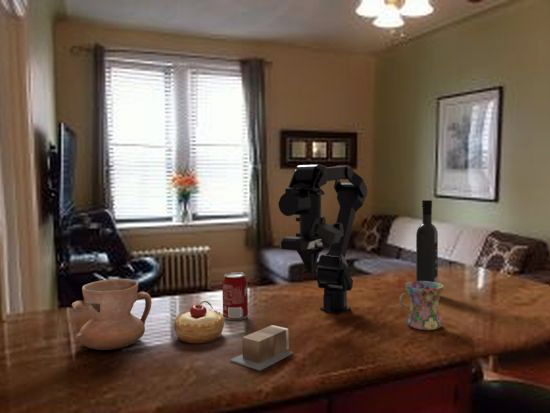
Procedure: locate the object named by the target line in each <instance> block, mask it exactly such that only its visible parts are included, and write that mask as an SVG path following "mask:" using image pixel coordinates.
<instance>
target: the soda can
mask: <svg viewBox="0 0 550 413" xmlns="http://www.w3.org/2000/svg"><path fill="white" fill-rule="evenodd" d="M223 275H224V278H223V280H222V281H221V282H222V284H221V285H222V290H221V291H222V315H223V316H224V319H226V320H228V321H231V322H236V321H243V320H244V319H245V318H246V319H247V317H248V316H249V306H248V305H249V304H248V303H249V302H248V301H249V300H248V298H249V297H248V294H249V293H248V280H247V278H246V274H245V273H243V272H227V273H225V274H223Z"/></svg>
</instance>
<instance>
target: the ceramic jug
mask: <svg viewBox="0 0 550 413" xmlns="http://www.w3.org/2000/svg"><path fill="white" fill-rule="evenodd" d="M138 290H139V281H137V280H136V279H131V278H115V279H114V278H110V279H103V280H98V281H97V280H96V281H93V282H92V281H91V282H90V283H87V284H84V285H82V288H81V291H82V296H83V300H76V301H74V302H72V304H71V306H72V307H73V309H74V310H76V309H78V308H83V309H85V310H87V311H89V313H90V314H91V316H92V318H90V319H89V320H88V321H87V322H86V323H85V324H84V325H83V326H82V327H81V328H80V329H79V332H78V333H77V335H76V338H77V340H78V342H79V343H81V344H82V345H83V346H84V347H87V348H89V349H92V350H97V351H109V350H111V351H112V350H117V349H122V348H125V347H127V346H131V345H132V344H134V343H136V342H138V341H139V340H140V339H141V338H142V337H143V336H144V334H145V333H146V332H145V331H146V327H145V325H146V320H147V318H148V317H149V313H150V311H151V309H152V297H151V295H150V294H149V293H148V292H145V291H139V292H138ZM141 298H143V299H144V302H145V303H144V304H145V305H144V310H143V312H142V315H141V317H140V318H139V317H137V316H135V315H134V314H132V313H131V311H132V309H133V307H134V305H135V303H136V302H137V301H138V300H139V299H141Z"/></svg>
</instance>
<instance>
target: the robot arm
mask: <svg viewBox="0 0 550 413" xmlns="http://www.w3.org/2000/svg"><path fill="white" fill-rule="evenodd" d="M341 180H348V181H342V182H341ZM364 180H365V179H364V178H362V176H360V175H359V174H358V173H356V172H355V171H354V169H353V167H352V166H351V165H349V164H348V165H336V166H328V167H327V166H326V165H323V164H320V163H319V164H318V163H317V164H299V165H297V166H296V168H295V170H294V172H293V174H292V177H291V179H290V182H289V184H288V186H287V187H285V188H284V189H285V190H284V191H285V192H284V193H283V194H282V195H281V196H280V198H279V200H278V204H277V205H278V209H279V211H280V213H281V214H282V215H284V216H286V217H294V216H295V222H298V223H299V224H298V228H299V230H298V232H297V233H295V236H285V237H282V238H281V240H280V245H279V246H280V249H281V250H288V251H289V250H290V251H296V252H297V254H298V256H299V257H300V259H301V261H302V263H303V265H304V267H305V270H306V271H307V273H308V274H313V273H314V272H315V278H316V282H317V286H318V289H323V297H322V303H323V306H320V307H319V309H320V310H321V311H325V312H328V313H332V314H340V313H341V314H342V313H344V312H346V311H349V310H352V308H351V307H350V306H348V305H347V304H348V300H347V297H348V296H347V295H348V294H347V291H348V292H349V291H352V289H353V286H354V285H353V284H354V280H353V278H352V276H351V275H350V273H349V264H348V262H347V258H346V255H347V254H346V253H347V250H348V246H349V241H350V237H351V234H352V230H353V225H354V222H355V218H356V213H357V211H359V209H361V207H363V205H364V204H365V201H366V198H367V196H368V186H367V184H366V183H365V181H364ZM332 181H335V182H334V185H333V189H334V191H335V193H336V200H337V203H338V205H339V209H338V212H337V216H336V222H334V224H328V223H326V222H327V220H326V218H325V216H322V196H324V195H325V192H324V190H323V189H322V188H321V187H322V186H325V185H326V184H327V183H328V182H332ZM296 216H297V217H296ZM323 242H325V243H326V244H328V245H329V249H328V252H327V253H326V254H321V255H320V253H321V252H322V251H323V250H325V249H326V248H327V247H328V245H324V244H323ZM319 255H320V256H319ZM318 258H319V259H318ZM317 262H318V263H317ZM316 265H317V266H316ZM315 268H316V270H315Z"/></svg>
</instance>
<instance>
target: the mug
mask: <svg viewBox="0 0 550 413" xmlns="http://www.w3.org/2000/svg"><path fill="white" fill-rule="evenodd" d="M404 287H405V289H406V292H403V293H401V294H400V295H399V297H398V298H399V300H398V301H399V303H400V305H401V307H402V309H403V310H404V311H405V312H407V313H408V317H407V319H406V324H407V325H408V326H409V327H411V328H413V329H416V330H421V331H433V330H437V329H440V328H441V327H442V325H443V324H442V321H441V318H440V315H439V314H440V313H439V303H440V299H441V296H442V295H441V294H442V292H443V290H444V288H445V286H444V285H443V284H442V283H440V282H438V283H436V282H430V281H416V280H413V281H409V282H406V283H404ZM406 295H408V300H409V309H408V308H406V306H405V305H404V302H403V297H404V296H406Z"/></svg>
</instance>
